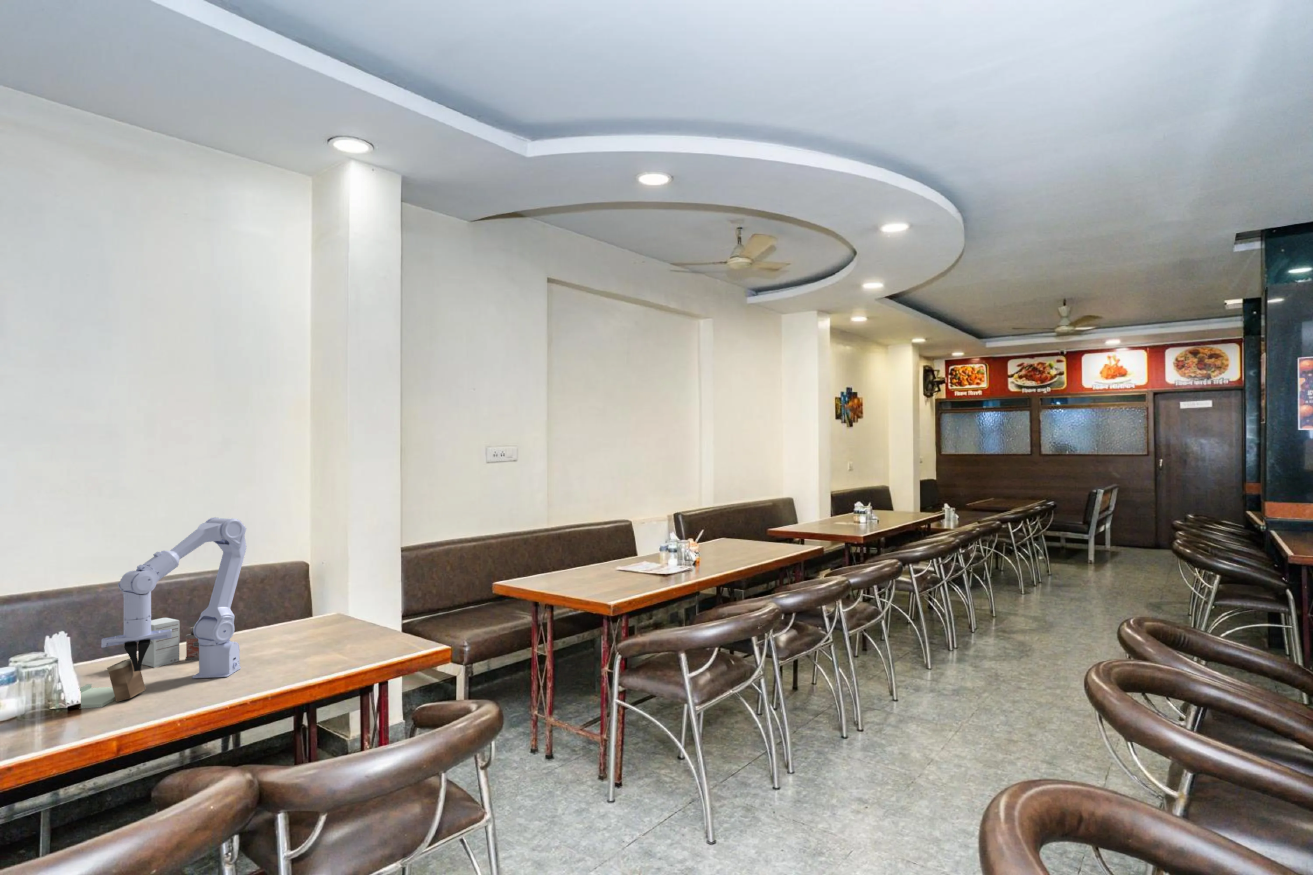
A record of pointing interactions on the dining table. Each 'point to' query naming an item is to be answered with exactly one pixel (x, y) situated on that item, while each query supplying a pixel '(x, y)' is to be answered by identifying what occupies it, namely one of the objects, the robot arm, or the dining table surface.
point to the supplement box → (163, 644)
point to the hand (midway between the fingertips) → (137, 670)
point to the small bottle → (192, 647)
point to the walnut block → (125, 680)
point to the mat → (96, 696)
